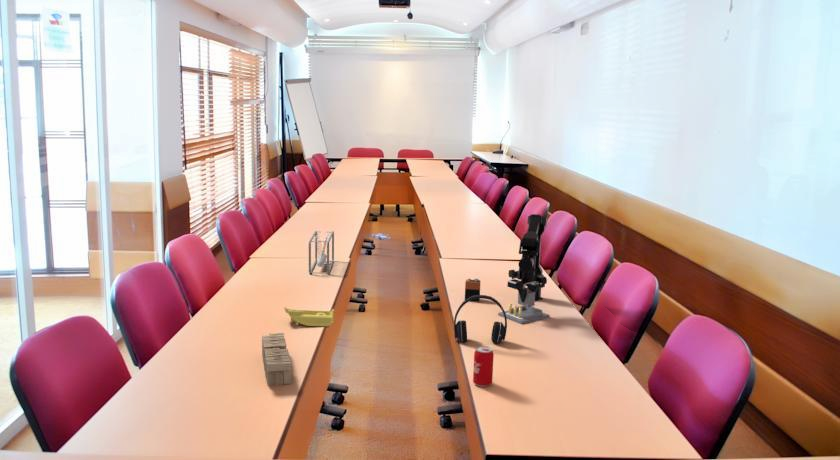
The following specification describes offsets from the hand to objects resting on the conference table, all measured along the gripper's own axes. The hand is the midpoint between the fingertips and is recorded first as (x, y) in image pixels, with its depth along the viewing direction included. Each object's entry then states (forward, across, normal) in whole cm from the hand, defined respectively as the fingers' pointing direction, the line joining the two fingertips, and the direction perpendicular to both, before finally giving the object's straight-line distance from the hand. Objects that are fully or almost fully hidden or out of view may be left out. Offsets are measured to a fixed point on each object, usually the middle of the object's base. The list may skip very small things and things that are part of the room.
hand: (526, 301), depth 285 cm
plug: (+2, 0, 0) cm, 2 cm away
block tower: (+7, +114, -6) cm, 114 cm away
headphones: (+7, +38, +13) cm, 41 cm away
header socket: (+6, 0, 0) cm, 7 cm away
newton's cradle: (+7, +34, -118) cm, 123 cm away
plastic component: (+7, +82, -42) cm, 92 cm away
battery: (+7, +4, -30) cm, 31 cm away
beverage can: (+6, +64, +42) cm, 77 cm away
